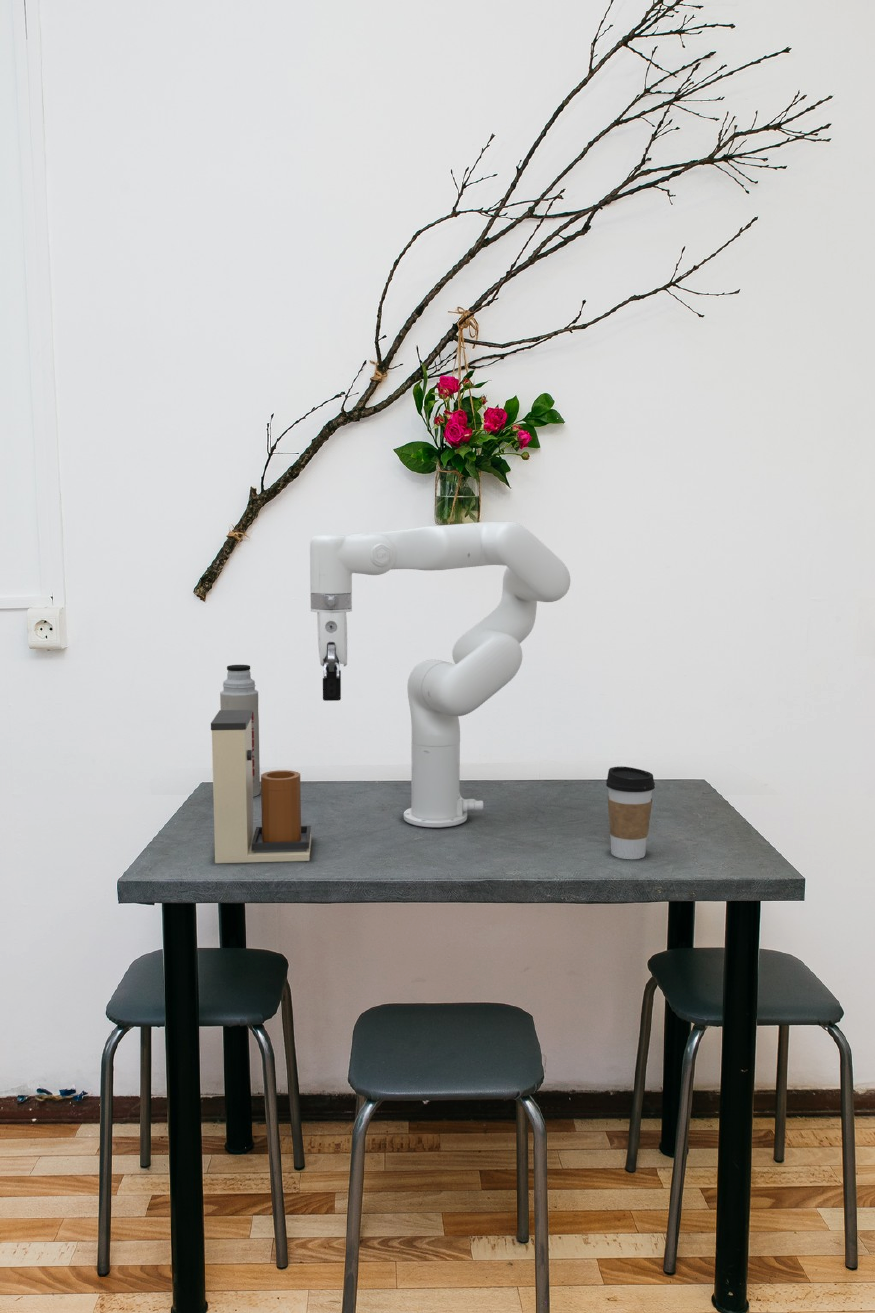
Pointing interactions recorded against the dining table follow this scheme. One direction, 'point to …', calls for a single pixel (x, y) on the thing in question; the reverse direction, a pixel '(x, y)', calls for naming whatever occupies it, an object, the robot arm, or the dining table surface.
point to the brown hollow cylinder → (281, 806)
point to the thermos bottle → (244, 697)
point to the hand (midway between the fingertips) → (332, 695)
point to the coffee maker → (242, 798)
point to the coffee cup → (629, 810)
